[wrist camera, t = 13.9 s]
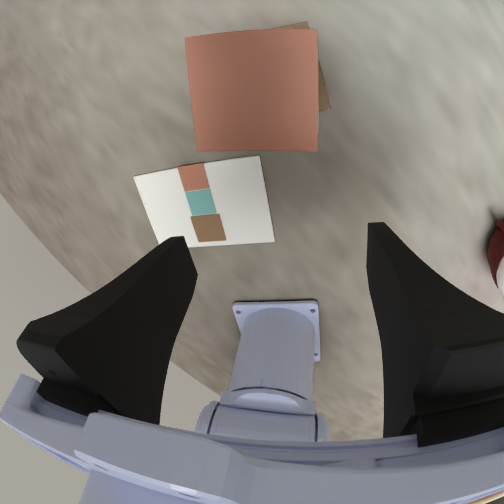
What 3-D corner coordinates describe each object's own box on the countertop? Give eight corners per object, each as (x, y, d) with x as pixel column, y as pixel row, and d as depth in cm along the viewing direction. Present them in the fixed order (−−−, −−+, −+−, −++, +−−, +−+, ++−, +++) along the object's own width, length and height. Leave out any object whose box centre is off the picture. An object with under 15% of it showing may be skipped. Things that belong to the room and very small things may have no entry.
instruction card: (275, 240, 24) (274, 242, 24) (162, 247, 27) (160, 250, 26) (259, 153, 20) (258, 155, 20) (134, 174, 22) (132, 176, 22)
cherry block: (313, 36, 10) (317, 29, 7) (314, 127, 12) (317, 151, 9) (214, 40, 10) (184, 37, 8) (222, 127, 13) (197, 151, 10)
